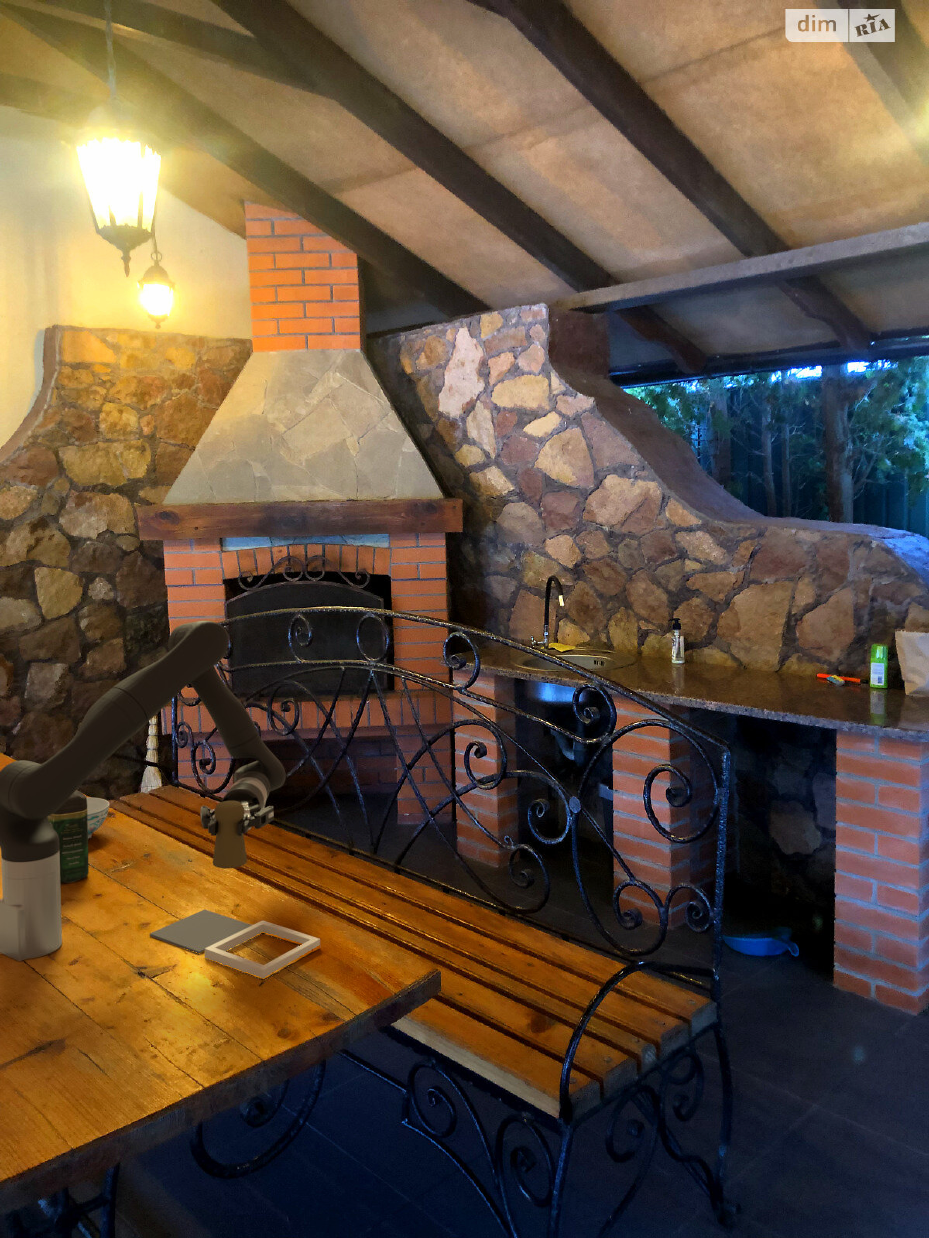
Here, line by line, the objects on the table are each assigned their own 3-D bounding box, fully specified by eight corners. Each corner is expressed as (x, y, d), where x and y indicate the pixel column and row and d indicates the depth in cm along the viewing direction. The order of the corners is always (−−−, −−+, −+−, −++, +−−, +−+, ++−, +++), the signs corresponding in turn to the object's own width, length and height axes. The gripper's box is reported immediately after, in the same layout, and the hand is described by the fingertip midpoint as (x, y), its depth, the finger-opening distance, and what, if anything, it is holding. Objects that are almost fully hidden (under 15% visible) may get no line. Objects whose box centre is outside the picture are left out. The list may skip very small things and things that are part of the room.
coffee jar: (93, 879, 195) (91, 793, 193) (53, 887, 190) (50, 799, 188) (82, 865, 203) (80, 782, 201) (43, 872, 198) (40, 788, 196)
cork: (205, 864, 164) (204, 804, 162) (228, 853, 169) (228, 795, 168) (231, 870, 161) (230, 809, 160) (254, 859, 166) (254, 800, 165)
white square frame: (263, 980, 152) (263, 969, 152) (204, 958, 160) (204, 948, 160) (320, 948, 164) (320, 938, 164) (262, 929, 172) (262, 920, 171)
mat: (199, 954, 161) (199, 951, 161) (149, 935, 168) (149, 933, 168) (253, 927, 172) (253, 925, 172) (204, 911, 179) (204, 909, 179)
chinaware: (63, 853, 210) (62, 820, 209) (29, 839, 219) (28, 807, 218) (122, 836, 222) (121, 805, 221) (88, 823, 231) (87, 793, 230)
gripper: (207, 781, 178) (184, 809, 161) (281, 782, 178) (267, 809, 161) (207, 819, 178) (185, 851, 161) (282, 819, 179) (267, 851, 162)
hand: (226, 830), depth 161 cm, fingers closed on cork, 4 cm apart
